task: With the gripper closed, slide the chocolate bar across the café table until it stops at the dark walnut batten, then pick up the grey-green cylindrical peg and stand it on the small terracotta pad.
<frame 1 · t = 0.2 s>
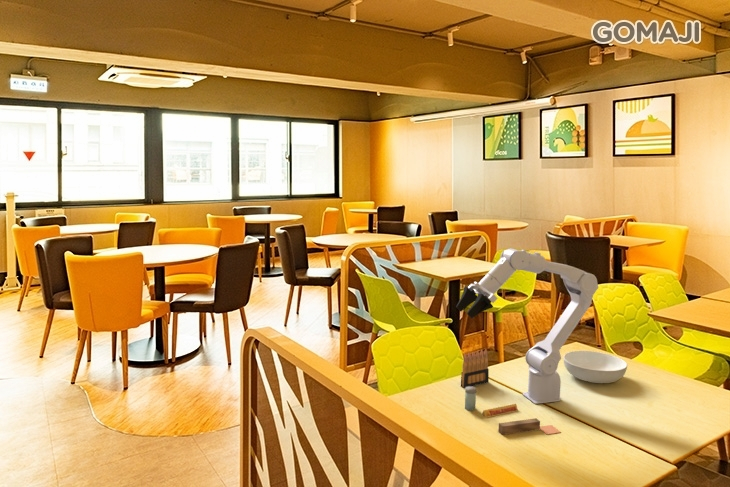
hand: (463, 312, 172), 30 cm above the table, tool tilted 45°, fingers open, 7 cm apart
serving bowl: (593, 379, 200), on the table
chocolate bar: (499, 414, 173), on the table
grey-green cylindrical peg: (470, 408, 176), on the table
ammunition clip: (474, 385, 195), on the table
terracotta pad: (549, 430, 162), on the table
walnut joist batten: (519, 430, 161), on the table
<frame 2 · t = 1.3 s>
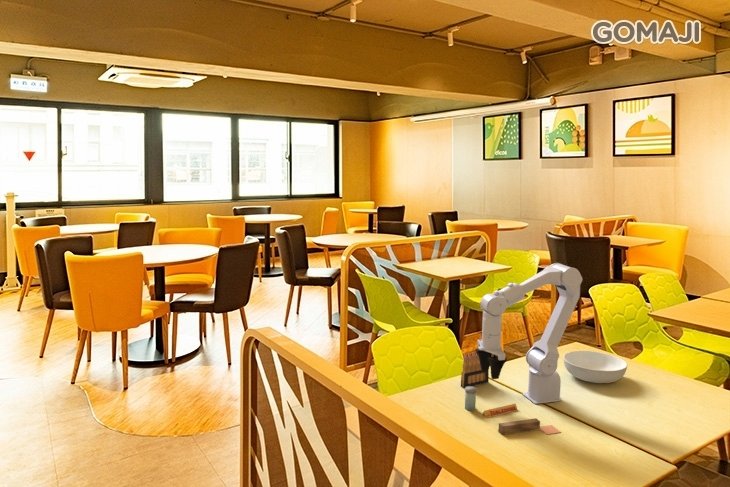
hand: (489, 374, 178), 9 cm above the table, tool pointing down, fingers open, 6 cm apart
nothing on the table moved.
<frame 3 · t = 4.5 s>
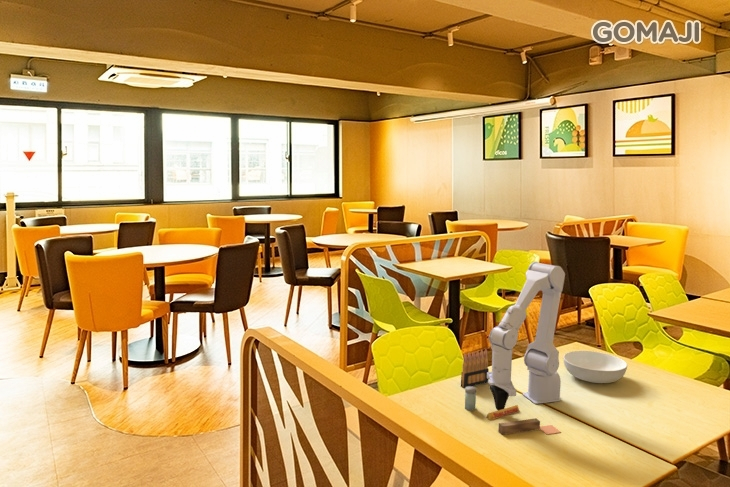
hand: (499, 409, 173), 1 cm above the table, tool pointing down, fingers closed
chocolate bar: (502, 416, 172), on the table, touching gripper
everything else where it was.
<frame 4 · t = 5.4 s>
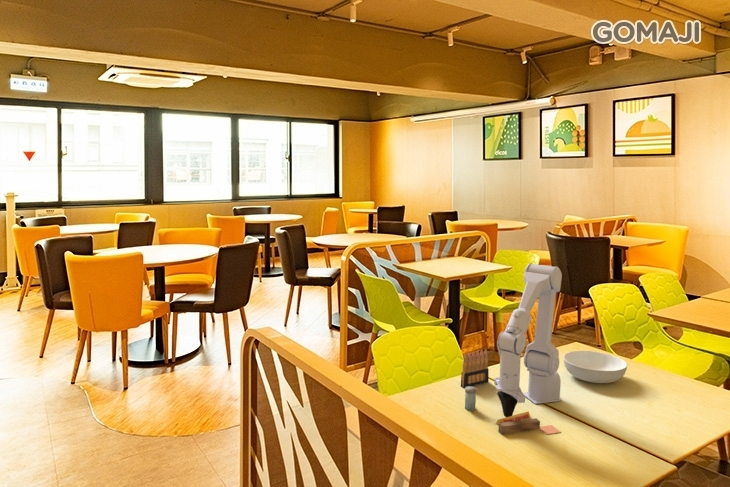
hand: (507, 416, 168), 1 cm above the table, tool pointing down, fingers closed
chocolate bar: (513, 423, 168), on the table, touching gripper
everything else where it was.
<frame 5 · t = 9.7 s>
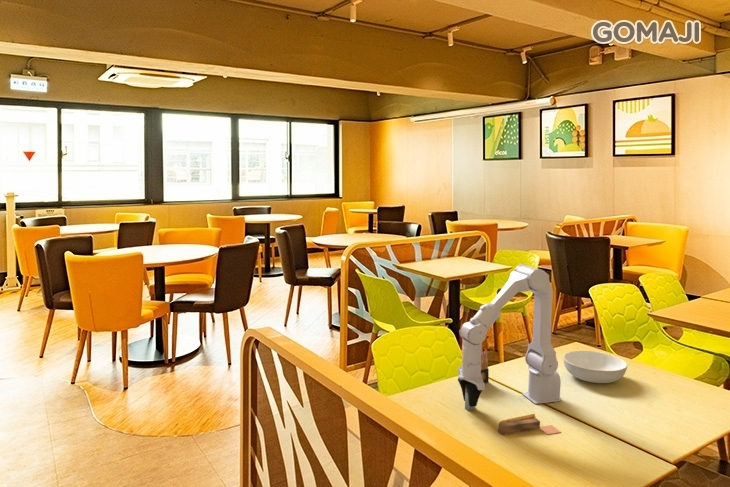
hand: (470, 403, 176), 2 cm above the table, tool pointing down, fingers closed on grey-green cylindrical peg, 3 cm apart
chocolate bar: (517, 425, 166), on the table
grey-green cylindrical peg: (470, 408, 176), on the table, touching gripper
everything else where it was.
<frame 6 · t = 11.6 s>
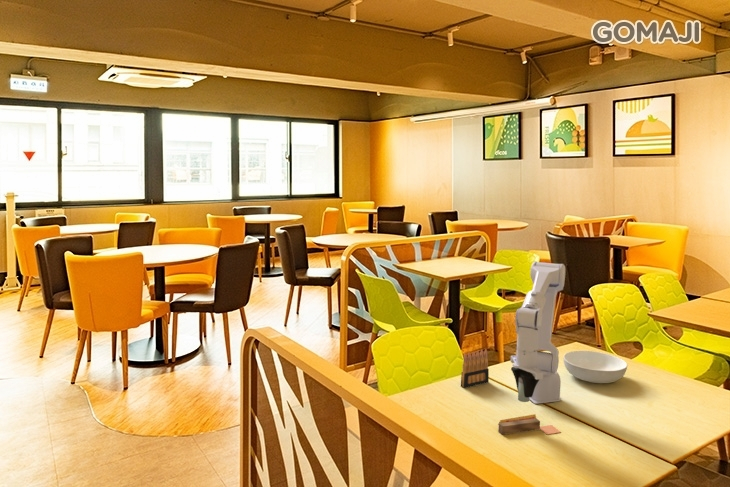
hand: (524, 394, 165), 9 cm above the table, tool pointing down, fingers closed on grey-green cylindrical peg, 3 cm apart
grey-green cylindrical peg: (523, 399, 165), point 7 cm above the table, touching gripper
everything else where it was.
when the fingers open (3 cm above the table, at t = 13.5 s): grey-green cylindrical peg drops 1 cm, resting on terracotta pad.
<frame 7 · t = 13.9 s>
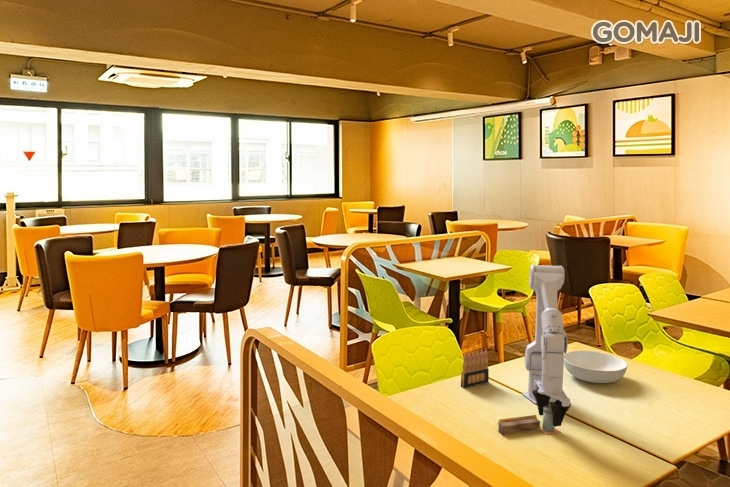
hand: (549, 420, 161), 3 cm above the table, tool pointing down, fingers open, 6 cm apart
grey-green cylindrical peg: (548, 429, 162), resting on terracotta pad
everything else where it was.
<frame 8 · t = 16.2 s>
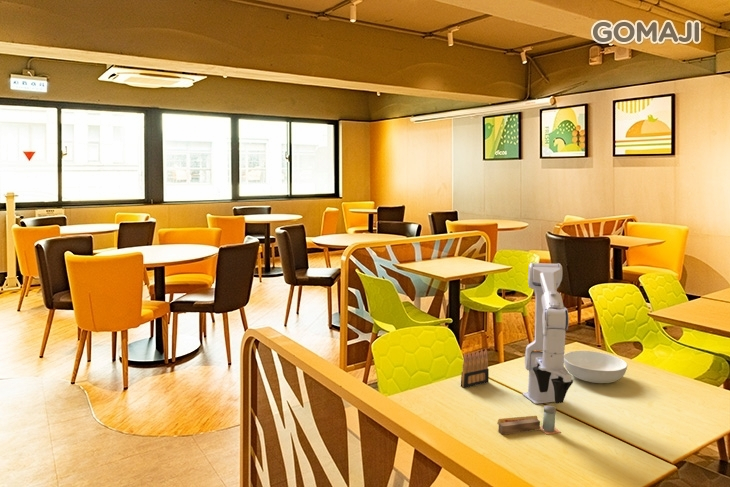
hand: (551, 397, 160), 10 cm above the table, tool pointing down, fingers open, 7 cm apart
nothing on the table moved.
at the end: chocolate bar inside the target area (2.3 cm from its centre), on the table; grey-green cylindrical peg 0.4 cm from the terracotta pad (horizontally); grey-green cylindrical peg tilted 2° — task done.
